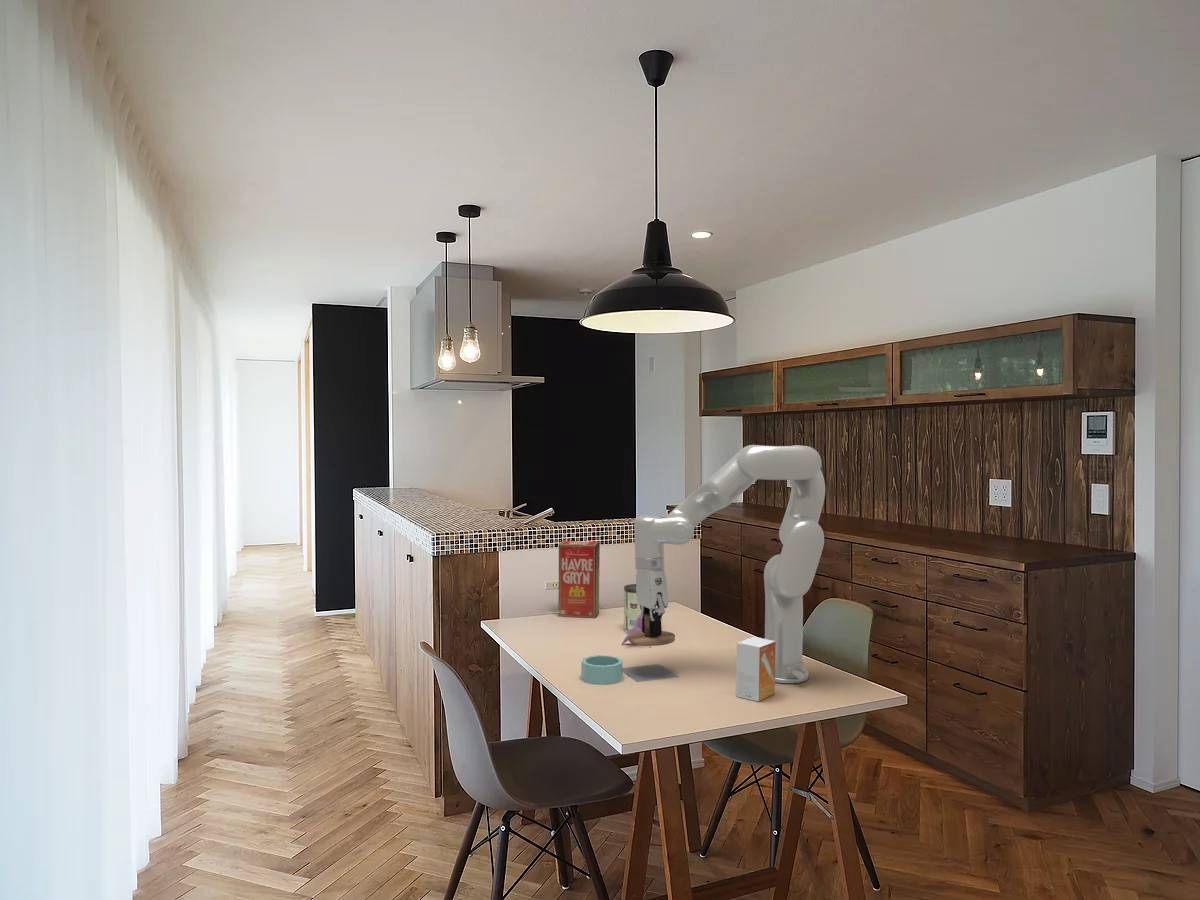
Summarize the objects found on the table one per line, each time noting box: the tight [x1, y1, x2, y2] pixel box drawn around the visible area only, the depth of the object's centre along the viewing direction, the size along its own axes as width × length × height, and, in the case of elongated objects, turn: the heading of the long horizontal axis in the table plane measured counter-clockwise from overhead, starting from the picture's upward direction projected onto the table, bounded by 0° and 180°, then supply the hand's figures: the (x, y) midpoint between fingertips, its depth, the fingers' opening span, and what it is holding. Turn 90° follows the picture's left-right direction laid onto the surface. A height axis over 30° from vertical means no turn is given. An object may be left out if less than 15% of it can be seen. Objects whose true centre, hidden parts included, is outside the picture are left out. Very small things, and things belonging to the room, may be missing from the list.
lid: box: [628, 613, 676, 647], centre depth 207 cm, size 12×12×6 cm
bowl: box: [580, 654, 624, 686], centre depth 203 cm, size 10×10×5 cm
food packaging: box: [557, 540, 601, 619], centre depth 276 cm, size 13×9×25 cm
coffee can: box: [623, 583, 657, 633], centre depth 254 cm, size 10×10×14 cm
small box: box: [735, 636, 776, 702], centre depth 192 cm, size 8×6×13 cm
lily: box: [621, 615, 652, 648], centre depth 237 cm, size 12×12×10 cm
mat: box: [623, 663, 680, 683], centre depth 208 cm, size 12×12×1 cm
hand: (651, 633), depth 208 cm, fingers closed on lid, 3 cm apart
